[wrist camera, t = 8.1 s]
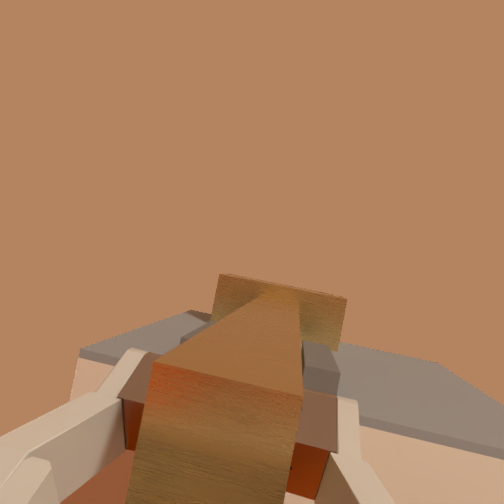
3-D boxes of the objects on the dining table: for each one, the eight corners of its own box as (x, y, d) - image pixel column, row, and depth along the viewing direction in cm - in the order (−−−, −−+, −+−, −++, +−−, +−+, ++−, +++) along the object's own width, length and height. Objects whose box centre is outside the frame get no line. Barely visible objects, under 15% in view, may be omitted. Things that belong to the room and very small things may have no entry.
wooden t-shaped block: (332, 342, 32) (341, 296, 32) (471, 615, 7) (510, 387, 7) (220, 317, 34) (228, 273, 34) (-35, 466, 8) (6, 277, 8)
